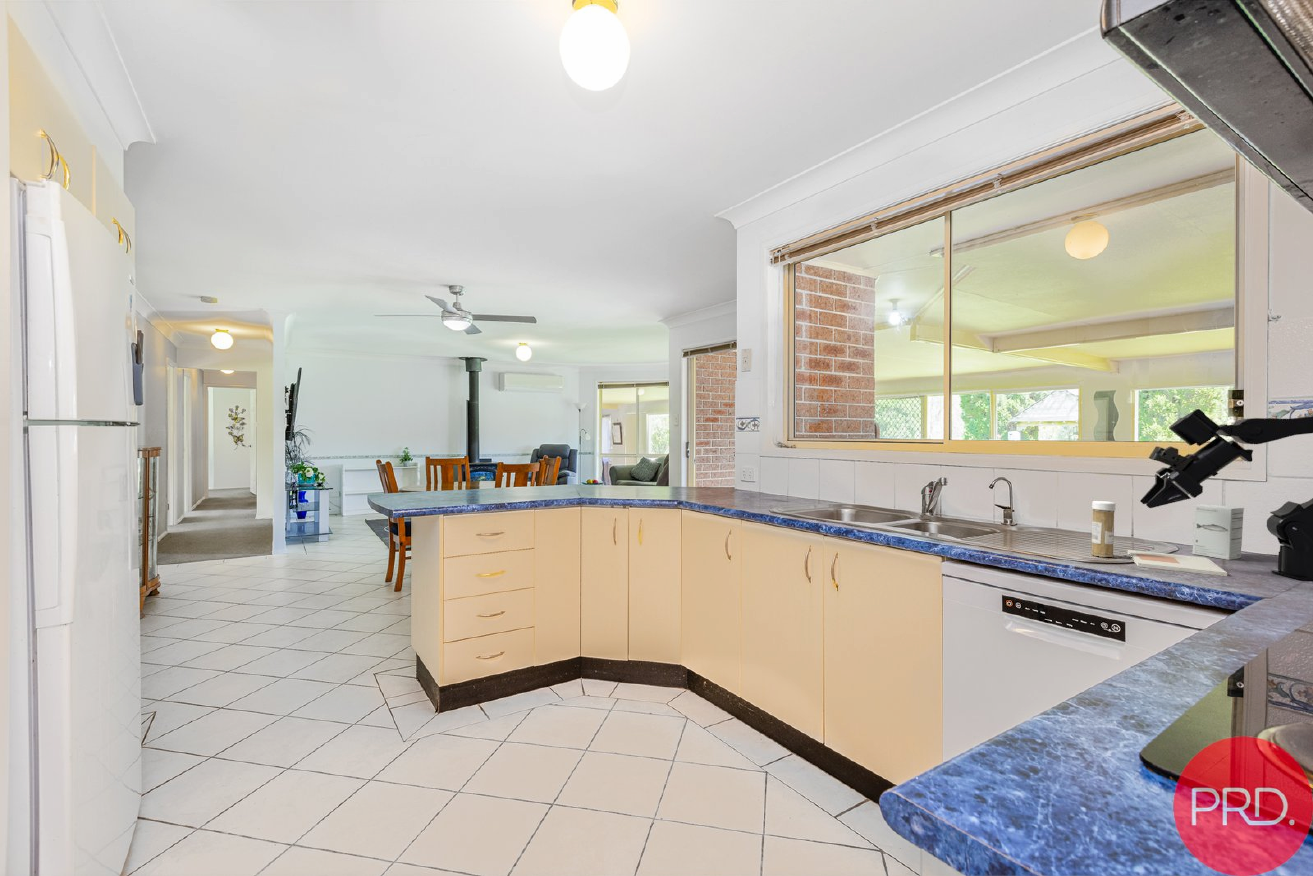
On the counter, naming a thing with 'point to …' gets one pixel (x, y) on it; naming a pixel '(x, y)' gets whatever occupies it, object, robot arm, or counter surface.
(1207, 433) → the robot arm
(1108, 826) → the counter surface
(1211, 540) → the supplement box
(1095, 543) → the sprinkles bottle
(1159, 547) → the counter surface
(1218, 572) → the mat
